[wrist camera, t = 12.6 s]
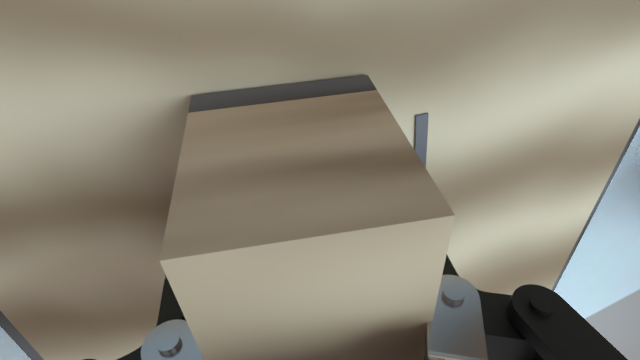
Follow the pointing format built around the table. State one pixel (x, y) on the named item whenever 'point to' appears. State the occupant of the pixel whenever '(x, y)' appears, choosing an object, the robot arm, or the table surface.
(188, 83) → the board
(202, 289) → the block
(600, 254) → the table surface
